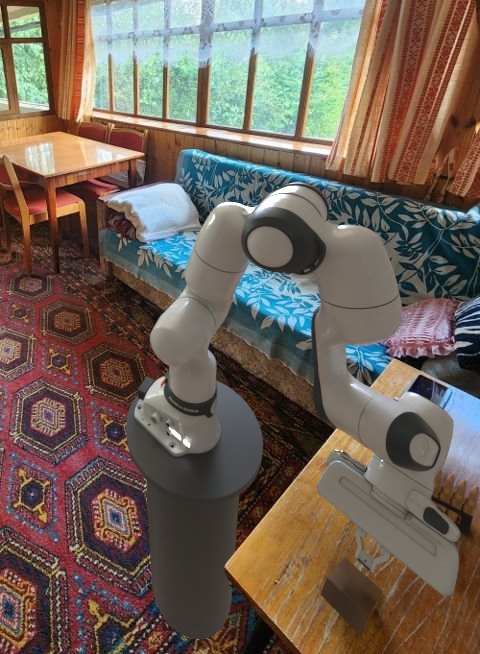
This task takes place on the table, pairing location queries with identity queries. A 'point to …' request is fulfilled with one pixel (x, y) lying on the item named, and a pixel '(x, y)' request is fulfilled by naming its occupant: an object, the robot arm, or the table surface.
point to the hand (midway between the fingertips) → (364, 565)
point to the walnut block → (351, 594)
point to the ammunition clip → (455, 501)
